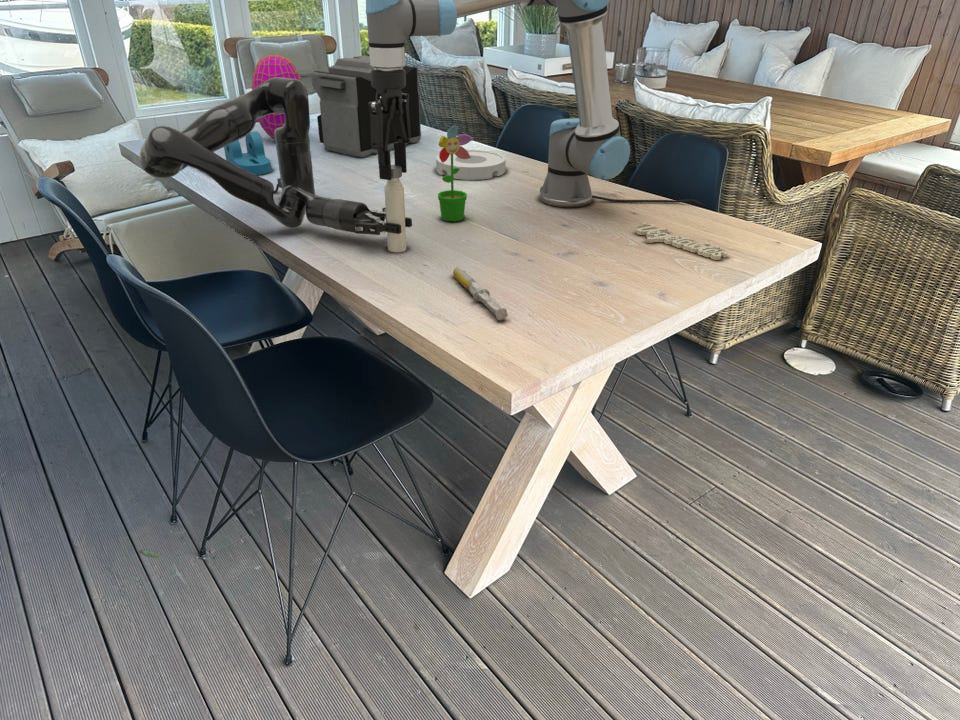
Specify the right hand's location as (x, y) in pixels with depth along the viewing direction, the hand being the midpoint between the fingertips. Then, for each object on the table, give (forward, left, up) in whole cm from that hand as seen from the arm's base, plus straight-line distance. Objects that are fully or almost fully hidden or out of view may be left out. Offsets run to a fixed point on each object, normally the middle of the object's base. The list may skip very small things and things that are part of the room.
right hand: (393, 175), depth 159 cm
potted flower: (-2, -26, -18) cm, 32 cm away
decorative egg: (+98, -78, -18) cm, 126 cm away
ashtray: (+15, -72, -18) cm, 76 cm away
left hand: (-3, 0, -12) cm, 12 cm away
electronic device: (+63, -86, -18) cm, 108 cm away
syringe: (-30, +16, -18) cm, 38 cm away
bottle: (0, 0, -18) cm, 18 cm away
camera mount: (+81, -41, -18) cm, 92 cm away
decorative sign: (-61, -34, -18) cm, 72 cm away
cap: (0, 0, +2) cm, 2 cm away
